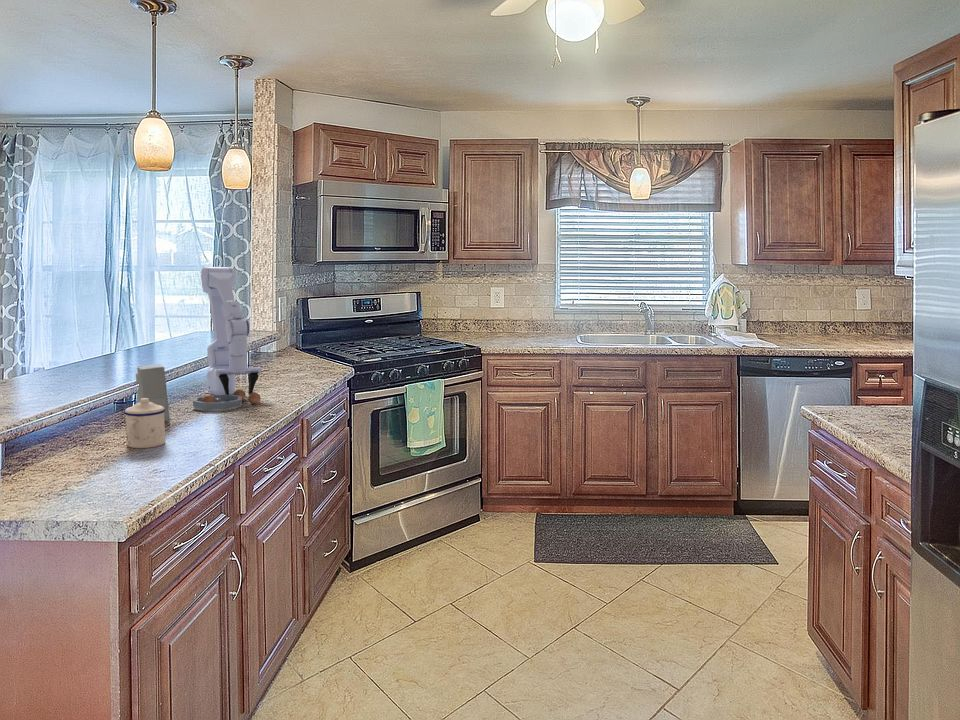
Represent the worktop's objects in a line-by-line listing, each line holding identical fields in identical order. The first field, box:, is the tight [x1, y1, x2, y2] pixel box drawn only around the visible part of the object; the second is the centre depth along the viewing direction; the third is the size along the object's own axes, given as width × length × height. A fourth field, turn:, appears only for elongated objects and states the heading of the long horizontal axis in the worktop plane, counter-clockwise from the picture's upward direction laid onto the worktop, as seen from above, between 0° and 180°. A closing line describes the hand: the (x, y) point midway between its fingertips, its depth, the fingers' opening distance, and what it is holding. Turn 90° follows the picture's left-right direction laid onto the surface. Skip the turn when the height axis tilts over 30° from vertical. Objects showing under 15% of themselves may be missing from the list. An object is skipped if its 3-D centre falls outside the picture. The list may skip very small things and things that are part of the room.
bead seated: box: [202, 393, 215, 403], centre depth 212 cm, size 4×4×4 cm
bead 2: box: [247, 391, 261, 405], centre depth 221 cm, size 4×4×4 cm
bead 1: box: [232, 389, 247, 401], centre depth 226 cm, size 4×4×4 cm
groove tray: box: [192, 394, 243, 412], centre depth 216 cm, size 14×14×3 cm
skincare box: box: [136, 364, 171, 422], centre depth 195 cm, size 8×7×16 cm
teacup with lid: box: [123, 398, 166, 449], centre depth 168 cm, size 12×9×12 cm
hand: (239, 395), depth 226 cm, fingers open, 7 cm apart
